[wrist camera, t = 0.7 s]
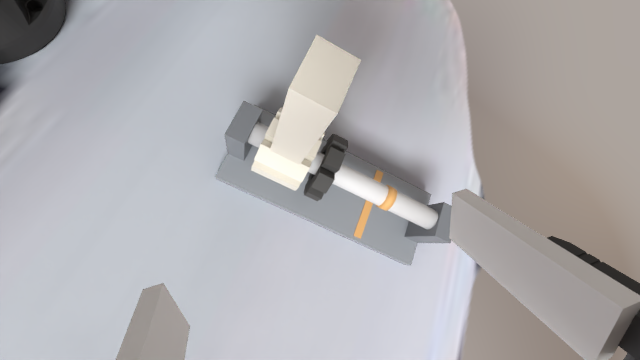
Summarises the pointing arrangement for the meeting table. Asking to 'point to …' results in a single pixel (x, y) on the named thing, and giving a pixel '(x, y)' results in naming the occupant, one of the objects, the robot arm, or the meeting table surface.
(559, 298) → the robot arm
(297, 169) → the sleeve
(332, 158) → the ring
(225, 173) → the pipe stand
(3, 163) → the meeting table surface
